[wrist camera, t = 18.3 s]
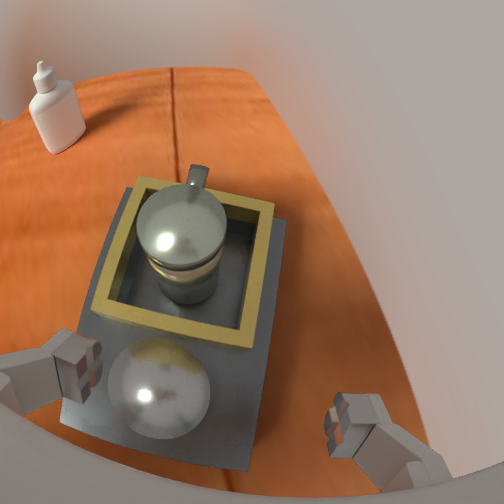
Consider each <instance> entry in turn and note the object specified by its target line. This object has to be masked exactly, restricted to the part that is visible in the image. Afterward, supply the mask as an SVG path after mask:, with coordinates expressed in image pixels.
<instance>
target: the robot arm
mask: <svg viewBox="0 0 504 504" xmlns="http://www.w3.org/2000/svg"><path fill="white" fill-rule="evenodd" d="M101 352H102V347H101V343H100V342H99V341H97V340H94V339H92V338H89V337H86V336H84V335H81V334H79V333H76V332H73V331H71V330H69V329H66V328H63V329H61V330H60V331H59V332H57V333H56V334H55V335H54V336H53V337H52V338H51V339H49V340H48V341H47V342H46V343H45V344H44V345H43V346H42V347H40V348H39V349H38V348H31V349H27V350H22V351H17V352H13V353H8V354H3V355H0V504H504V462H501V463H499V464H496V465H493V466H491V467H488V468H485V469H483V470H480V471H477V472H474V473H471V474H467V475H464V476H461V477H458V478H454V479H453V478H452V476H451V474H450V472H449V470H448V468H447V466H446V464H445V462H444V460H443V457H442V456H441V455H440V454H438V453H437V452H435V451H434V450H432V449H431V448H430V447H428V446H427V445H425V444H424V443H423V442H421V441H420V440H418V439H417V438H416V437H414V436H413V435H411V434H410V433H409V432H407V431H406V430H404V429H403V428H402V427H400V426H399V425H398V424H393V423H392V420H391V418H390V416H389V414H388V412H387V409H386V407H385V405H384V403H383V401H382V398H381V396H380V395H379V394H369V393H365V394H360V393H344V392H339V393H338V394H337V395H336V396H335V398H334V400H333V401H334V405H335V406H333V407H332V408H330V409H329V410H328V412H327V415H326V417H325V422H324V430H325V434H326V435H327V436H328V437H329V438H330V439H329V441H328V443H327V446H328V451H329V456H330V458H353V461H354V462H355V463H356V464H357V465H358V466H359V467H360V468H361V470H362V471H363V472H364V473H365V474H366V475H367V476H368V477H369V478H370V480H371V481H372V482H373V483H374V484H375V485H376V486H377V487H378V488H379V489H380V490H381V492H380V493H379V494H370V495H360V496H346V497H315V498H309V497H279V496H265V495H254V494H245V493H238V492H230V491H224V490H218V489H212V488H207V487H202V486H197V485H192V484H188V483H184V482H179V481H175V480H171V479H168V478H164V477H160V476H157V475H153V474H150V473H147V472H144V471H140V470H137V469H134V468H131V467H128V466H126V465H123V464H120V463H117V462H115V461H112V460H109V459H107V458H104V457H102V456H99V455H97V454H94V453H92V452H90V451H87V450H85V449H83V448H81V447H78V446H76V445H74V444H72V443H70V442H68V441H66V440H64V439H62V438H60V437H58V436H56V435H54V434H52V433H50V432H48V431H46V430H45V429H43V428H41V427H39V426H37V425H36V424H34V423H32V422H31V421H29V420H27V419H26V418H25V417H24V415H26V414H28V413H30V412H33V411H35V410H37V409H39V408H41V407H44V406H46V405H48V404H50V403H52V402H55V401H57V400H59V399H61V398H62V397H65V398H67V399H69V400H72V401H74V402H76V403H79V404H81V405H83V404H84V403H85V401H86V400H87V399H88V397H89V396H90V394H91V389H90V388H92V387H95V386H97V384H98V383H99V381H100V379H101V376H102V374H103V361H102V360H101V358H100V357H99V355H100V354H101Z"/></svg>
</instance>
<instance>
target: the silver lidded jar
mask: <svg viewBox="0 0 504 504" xmlns="http://www.w3.org/2000/svg"><path fill="white" fill-rule="evenodd" d="M208 172H209V168H208V167H205V166H201V165H196V164H191V165H190V169H189V173H188V177H187V182H186V184H177V185H172V186H168V187H165V188H163V189H161V190H159V191H157V192H156V193H154V194H153V195H152V196H151V197H149V198H148V199H147V201H146V202H145V203H144V204H143V206H142V208H141V209H140V212H139V214H138V217H137V223H136V230H137V236H138V239H139V242H140V244H141V246H142V248H143V251H144V252H145V254H146V256H147V258H148V260H149V262H150V265H151V267H152V269H153V271H154V273H155V276H156V278H157V280H158V282H159V284H160V286H161V288H162V290H163V292H164V293H165V294H166V295H167V296H168V297H169V298H170V299H172V300H173V301H175V302H178V303H181V304H195V303H198V302H201V301H203V300H205V299H206V298H208V297H209V296H210V295H211V294H212V292H213V291H214V289H215V288H216V285H217V282H218V277H219V270H220V263H221V256H222V249H223V243H224V240H225V235H226V229H227V218H226V213H225V210H224V208H223V206H222V204H221V203H220V201H219V200H218V199H217V198H216V197H215V196H214V195H213V194H212V193H210V192H209V191H207V190H205V185H206V181H207V177H208Z"/></svg>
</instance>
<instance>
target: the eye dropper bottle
mask: <svg viewBox="0 0 504 504" xmlns="http://www.w3.org/2000/svg"><path fill="white" fill-rule="evenodd" d="M33 80H34V83H35V86H36V89H37V91H38V93H37V94H36V95H35V97H34V98H33V99H32V101H31V103H30V105H29V110H30V113H31V116H32V118H33V120H34V122H35V125H36V127H37V129H38V131H39V133H40V136H41V138H42V140H43V142H44V144H45V146H46V148H47V149H48V150H49V151H50V152H51V153H52V154H57V153H60V152H61V151H63V150H65V149H67V148H68V147H70V146H71V145H72V144H74V143H75V142H76V141H77V140H78V139H79V138H80V137H81V136H82V134H83V133H84V132H85V130H86V125H85V121H84V118H83V115H82V112H81V109H80V105H79V102H78V99H77V95H76V92H75V89H74V86H73V84H72V83H71V82H70V81H67V80H58V81H57V79H56V75H55V72H54V68H52V67H46V66H45V64H44V62H43V61H40V62H38V63H37V73H36V74H35V75H34V77H33Z"/></svg>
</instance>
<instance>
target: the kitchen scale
mask: <svg viewBox="0 0 504 504" xmlns="http://www.w3.org/2000/svg"><path fill="white" fill-rule="evenodd" d="M177 184H182V183H177V182H172V181H166V180H161V179H155V178H150V177H144V176H139V177H138V179H137V181H136V184H135V186H134V188H130V187H127V188H126V190H125V192H124V195H123V197H122V199H121V202H120V204H119V206H118V209H117V211H116V214H115V216H114V218H113V221H112V224H111V226H110V229H109V231H108V234H107V236H106V239H105V242H104V245H103V247H102V250H101V253H100V256H99V259H98V261H97V264H96V267H95V270H94V273H93V276H92V279H91V283H90V286H89V289H88V292H87V296H86V299H85V303H84V306H83V310H82V313H81V317H80V321H79V324H78V328H77V332H76V333H79V334H81V335H84V336H86V337H89V338H92V339H94V340H97V341H99V342H100V343H101V347H102V352H101V354H100V355H99V357H100V358H101V360H102V361H103V374H102V376H101V379H100V381H99V383H98V384H97V386H95V387H92V388H90V389H91V394H90V396H89V397H88V399H87V400H86V401H85V403H84V404H83V405H81V404H79V403H76V402H74V401H72V400H69V399H67V398H65V397H63V402H62V409H61V416H60V423H63V424H65V425H67V426H69V427H72V428H74V429H77V430H79V431H82V432H84V433H87V434H89V435H92V436H94V437H97V438H100V439H103V440H106V441H108V442H111V443H114V444H117V445H120V446H124V447H127V448H130V449H133V450H137V451H140V452H144V453H148V454H151V455H155V456H159V457H163V458H168V459H172V460H176V461H181V462H186V463H191V464H196V465H202V466H208V467H214V468H221V469H229V470H237V471H246V472H248V470H249V465H250V459H251V454H252V448H253V443H254V437H255V432H256V426H257V421H258V415H259V409H260V403H261V397H262V391H263V385H264V379H265V373H266V367H267V360H268V354H269V347H270V341H271V334H272V327H273V321H274V314H275V307H276V300H277V292H278V285H279V278H280V270H281V263H282V255H283V247H284V239H285V231H286V223H287V220H284V219H279V218H275V217H273V212H274V206H275V203H271V202H267V201H262V200H258V199H254V198H249V197H245V196H240V195H236V194H231V193H226V192H222V191H217V190H212V189H207V188H205V190H207V191H209V192H210V193H212V194H213V195H214V196H215V197H216V198H217V199H218V200H219V201H220V203H221V204H222V206H223V208H224V210H225V213H226V218H227V229H226V235H225V240H224V243H223V249H222V256H221V263H220V270H219V277H218V282H217V285H216V288H215V289H214V291H213V292H212V294H211V295H210V296H209V297H208V298H206V299H205V300H203V301H201V302H198V303H195V304H181V303H178V302H175V301H173V300H172V299H170V298H169V297H168V296H167V295H166V294H165V293H164V292H163V290H162V288H161V286H160V284H159V282H158V280H157V278H156V276H155V273H154V271H153V269H152V267H151V265H150V262H149V260H148V258H147V256H146V254H145V252H144V251H143V248H142V246H141V244H140V242H139V239H138V236H137V230H136V223H137V217H138V214H139V212H140V209H141V208H142V206H143V204H144V203H145V202H146V201H147V199H148V198H149V197H151V196H152V195H153V194H154V193H156V192H157V191H159V190H161V189H163V188H165V187H168V186H172V185H177Z"/></svg>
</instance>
